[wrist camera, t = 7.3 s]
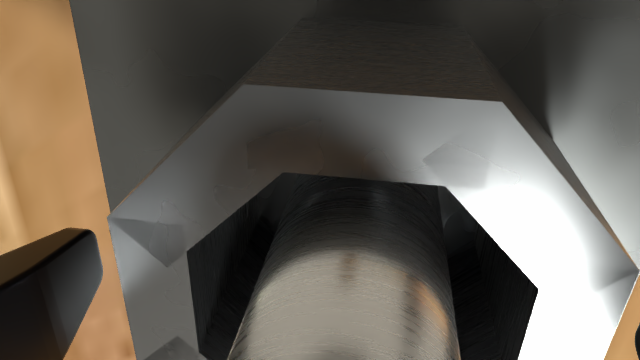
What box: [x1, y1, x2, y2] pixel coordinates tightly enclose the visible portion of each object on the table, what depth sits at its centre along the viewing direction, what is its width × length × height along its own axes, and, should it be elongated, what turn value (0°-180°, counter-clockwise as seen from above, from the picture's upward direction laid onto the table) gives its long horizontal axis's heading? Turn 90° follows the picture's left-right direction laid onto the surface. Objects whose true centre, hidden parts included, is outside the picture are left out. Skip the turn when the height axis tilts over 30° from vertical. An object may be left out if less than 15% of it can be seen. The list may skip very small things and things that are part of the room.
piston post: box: [69, 0, 640, 360], centre depth 9 cm, size 12×12×7 cm
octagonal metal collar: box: [107, 18, 640, 360], centre depth 9 cm, size 7×7×4 cm
